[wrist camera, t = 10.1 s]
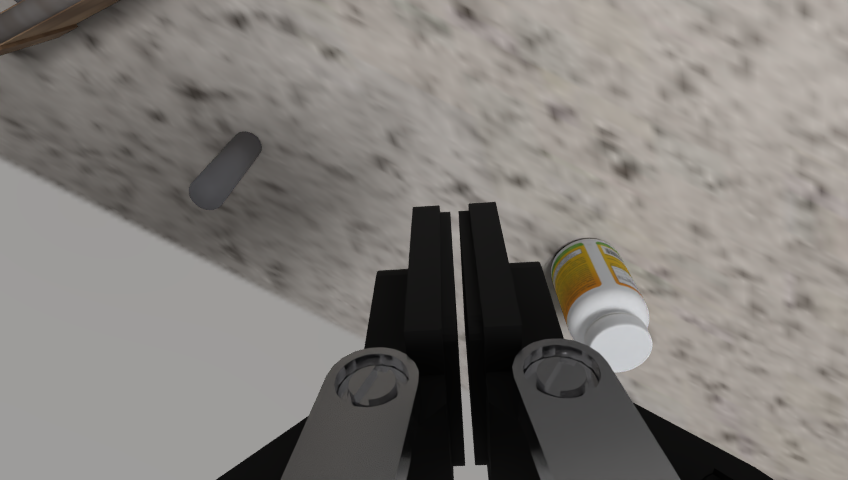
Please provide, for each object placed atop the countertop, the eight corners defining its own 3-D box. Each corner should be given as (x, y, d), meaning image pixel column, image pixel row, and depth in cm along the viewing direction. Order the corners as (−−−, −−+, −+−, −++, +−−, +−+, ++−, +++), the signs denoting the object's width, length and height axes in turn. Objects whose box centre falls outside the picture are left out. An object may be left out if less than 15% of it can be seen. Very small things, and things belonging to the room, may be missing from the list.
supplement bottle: (548, 296, 45) (574, 383, 37) (550, 238, 42) (580, 317, 34) (616, 293, 45) (658, 379, 36) (623, 234, 42) (670, 313, 34)
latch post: (229, 132, 39) (184, 179, 32) (258, 130, 38) (219, 177, 31) (236, 159, 40) (194, 211, 33) (264, 157, 39) (228, 208, 32)
